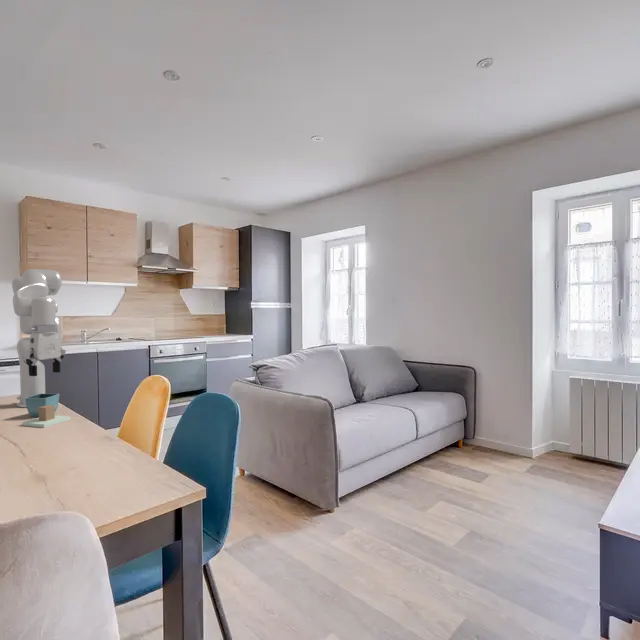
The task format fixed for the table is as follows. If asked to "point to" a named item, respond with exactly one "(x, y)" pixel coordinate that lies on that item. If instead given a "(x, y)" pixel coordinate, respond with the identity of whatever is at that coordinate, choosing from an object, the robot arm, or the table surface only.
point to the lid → (46, 418)
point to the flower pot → (41, 402)
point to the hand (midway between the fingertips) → (45, 374)
